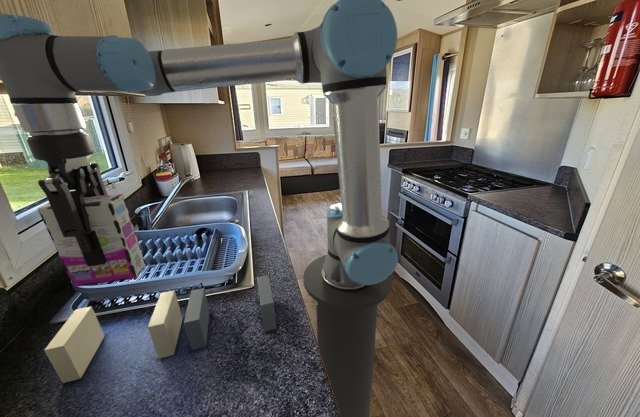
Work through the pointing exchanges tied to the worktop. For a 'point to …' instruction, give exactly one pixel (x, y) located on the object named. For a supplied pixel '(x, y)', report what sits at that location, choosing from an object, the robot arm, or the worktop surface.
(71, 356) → the cream book
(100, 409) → the worktop surface
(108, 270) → the candy bar box
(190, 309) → the grey book
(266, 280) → the grey book
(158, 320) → the cream book
